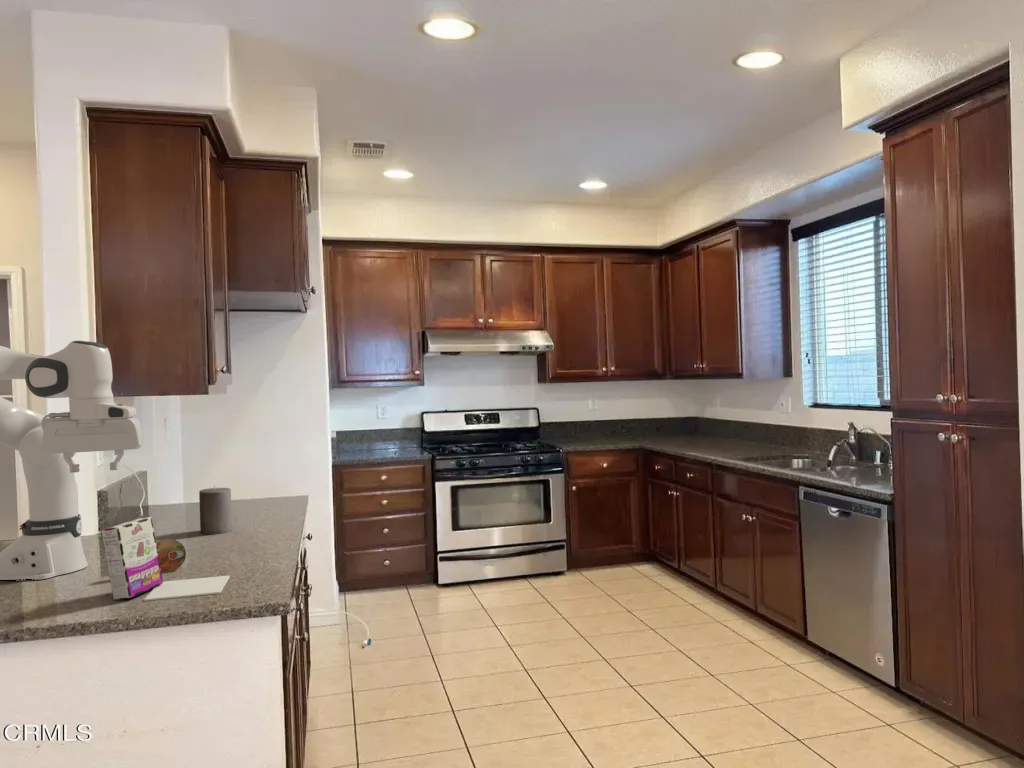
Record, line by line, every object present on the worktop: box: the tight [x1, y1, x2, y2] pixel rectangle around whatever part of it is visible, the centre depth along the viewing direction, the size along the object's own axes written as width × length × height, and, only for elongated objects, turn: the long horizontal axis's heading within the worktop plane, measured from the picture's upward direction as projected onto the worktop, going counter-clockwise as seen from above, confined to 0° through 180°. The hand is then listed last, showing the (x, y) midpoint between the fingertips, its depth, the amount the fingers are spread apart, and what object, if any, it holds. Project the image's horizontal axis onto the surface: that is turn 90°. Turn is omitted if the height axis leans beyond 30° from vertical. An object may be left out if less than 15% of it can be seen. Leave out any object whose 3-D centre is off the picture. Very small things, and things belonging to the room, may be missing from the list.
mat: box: [143, 574, 231, 602], centre depth 168 cm, size 16×14×1 cm
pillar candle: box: [198, 485, 233, 536], centre depth 232 cm, size 10×10×15 cm
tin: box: [156, 538, 187, 574], centre depth 182 cm, size 15×3×8 cm, turn 123°
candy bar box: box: [101, 516, 164, 601], centre depth 165 cm, size 11×5×16 cm, turn 168°
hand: (94, 471), depth 163 cm, fingers open, 7 cm apart
